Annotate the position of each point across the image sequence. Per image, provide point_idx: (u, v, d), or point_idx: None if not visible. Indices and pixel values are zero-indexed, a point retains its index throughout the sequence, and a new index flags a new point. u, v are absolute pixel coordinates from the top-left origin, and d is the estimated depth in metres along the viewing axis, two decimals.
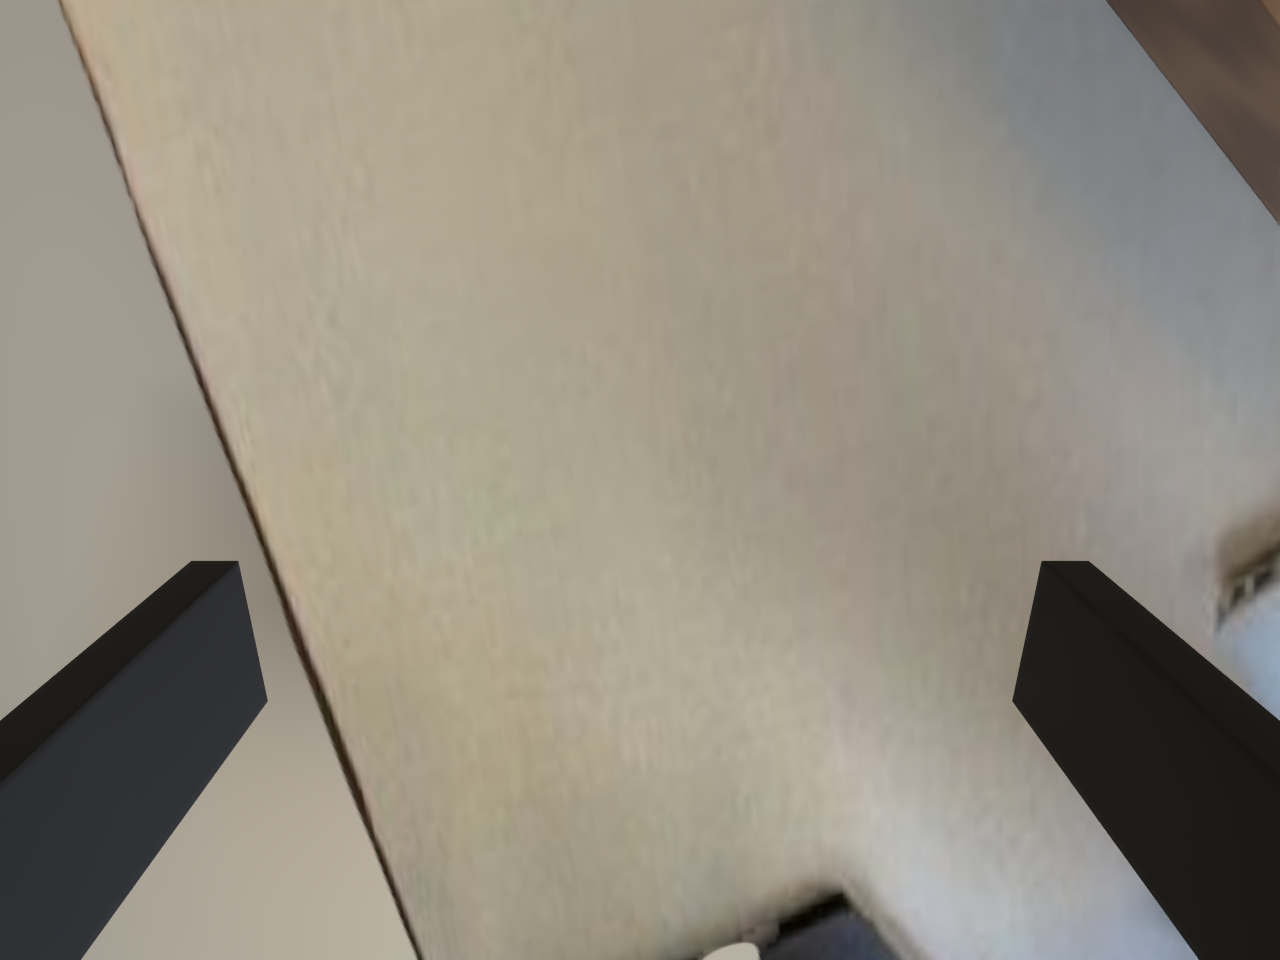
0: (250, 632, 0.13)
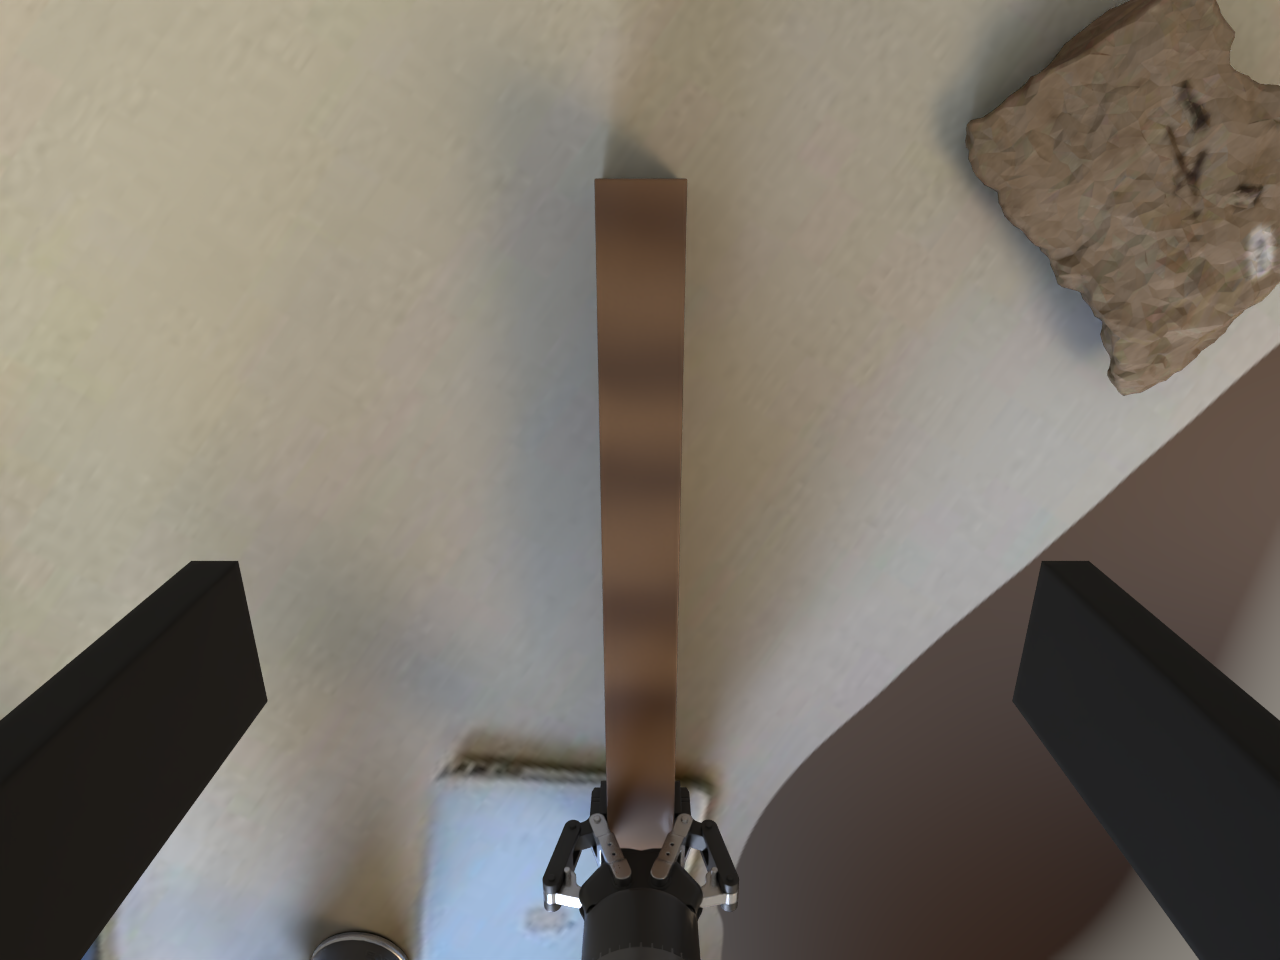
0: (249, 632, 0.13)
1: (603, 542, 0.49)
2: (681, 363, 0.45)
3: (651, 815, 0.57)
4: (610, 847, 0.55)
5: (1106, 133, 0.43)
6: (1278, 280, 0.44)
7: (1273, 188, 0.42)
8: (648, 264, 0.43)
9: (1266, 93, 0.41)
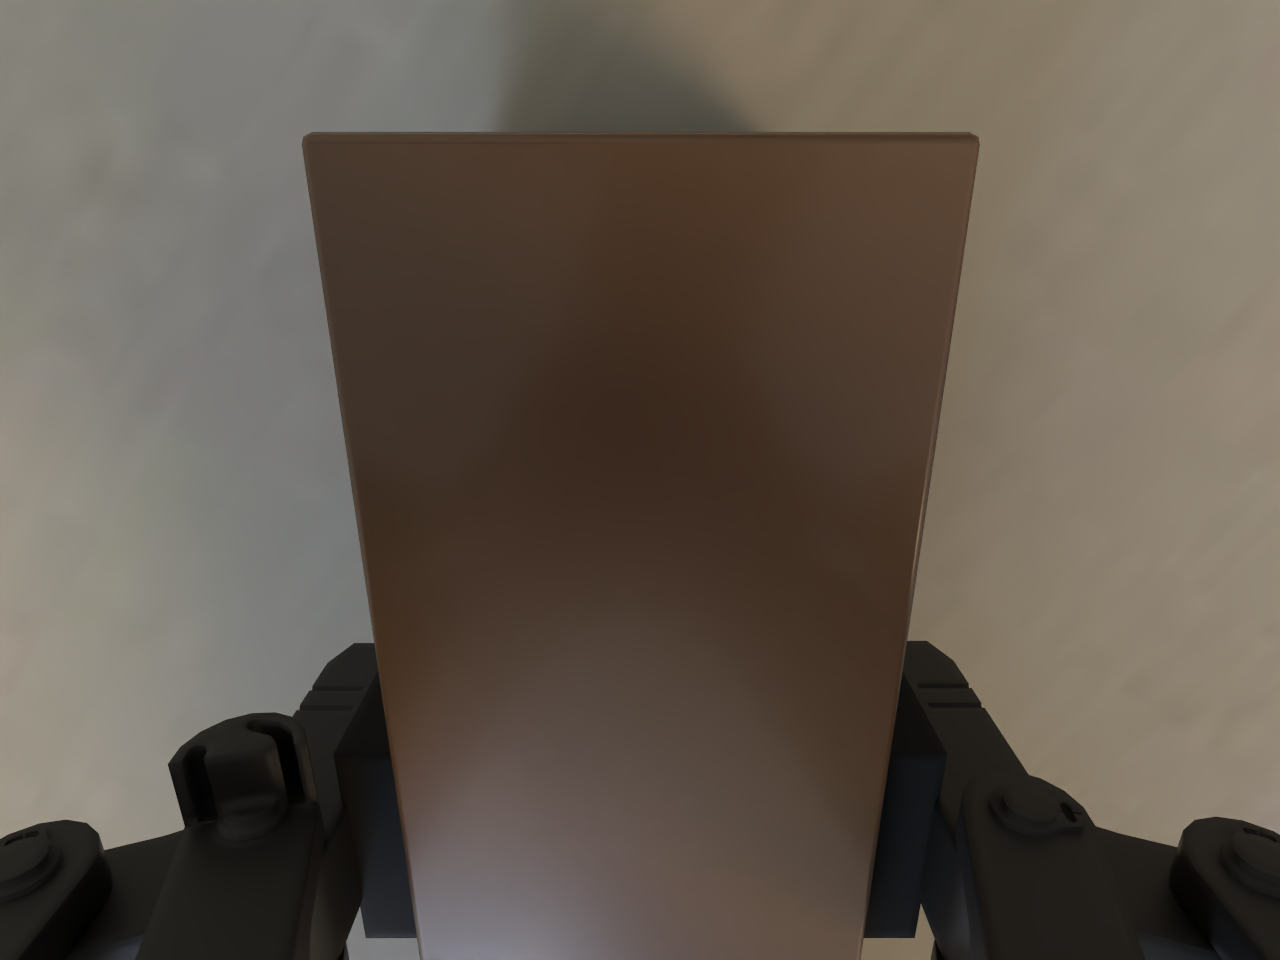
0: None
1: None
2: None
3: None
4: None
5: None
6: None
7: None
8: (682, 657, 0.07)
9: None
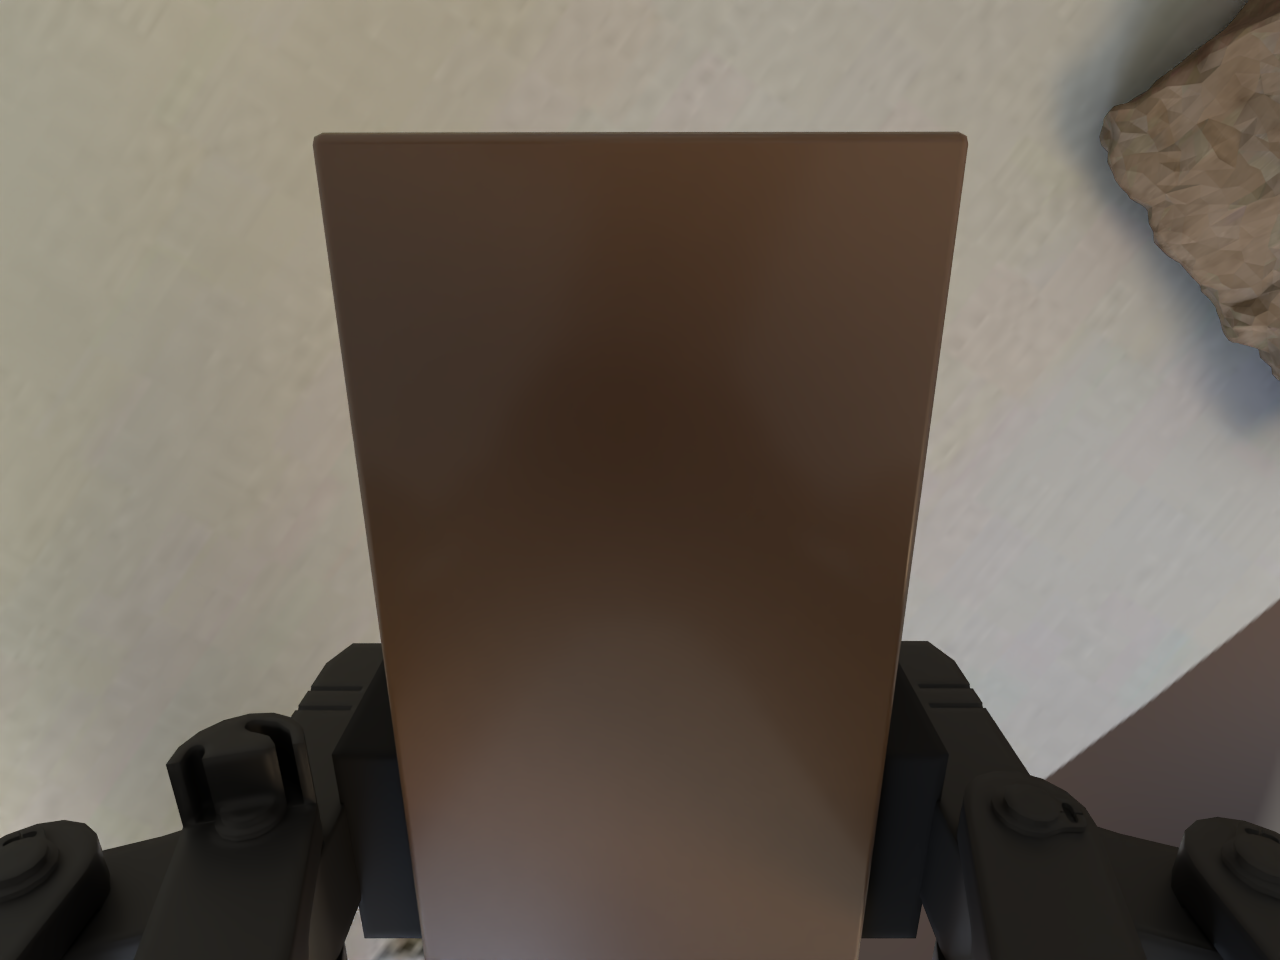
0: None
1: None
2: None
3: None
4: None
5: None
6: None
7: None
8: (684, 646, 0.07)
9: None
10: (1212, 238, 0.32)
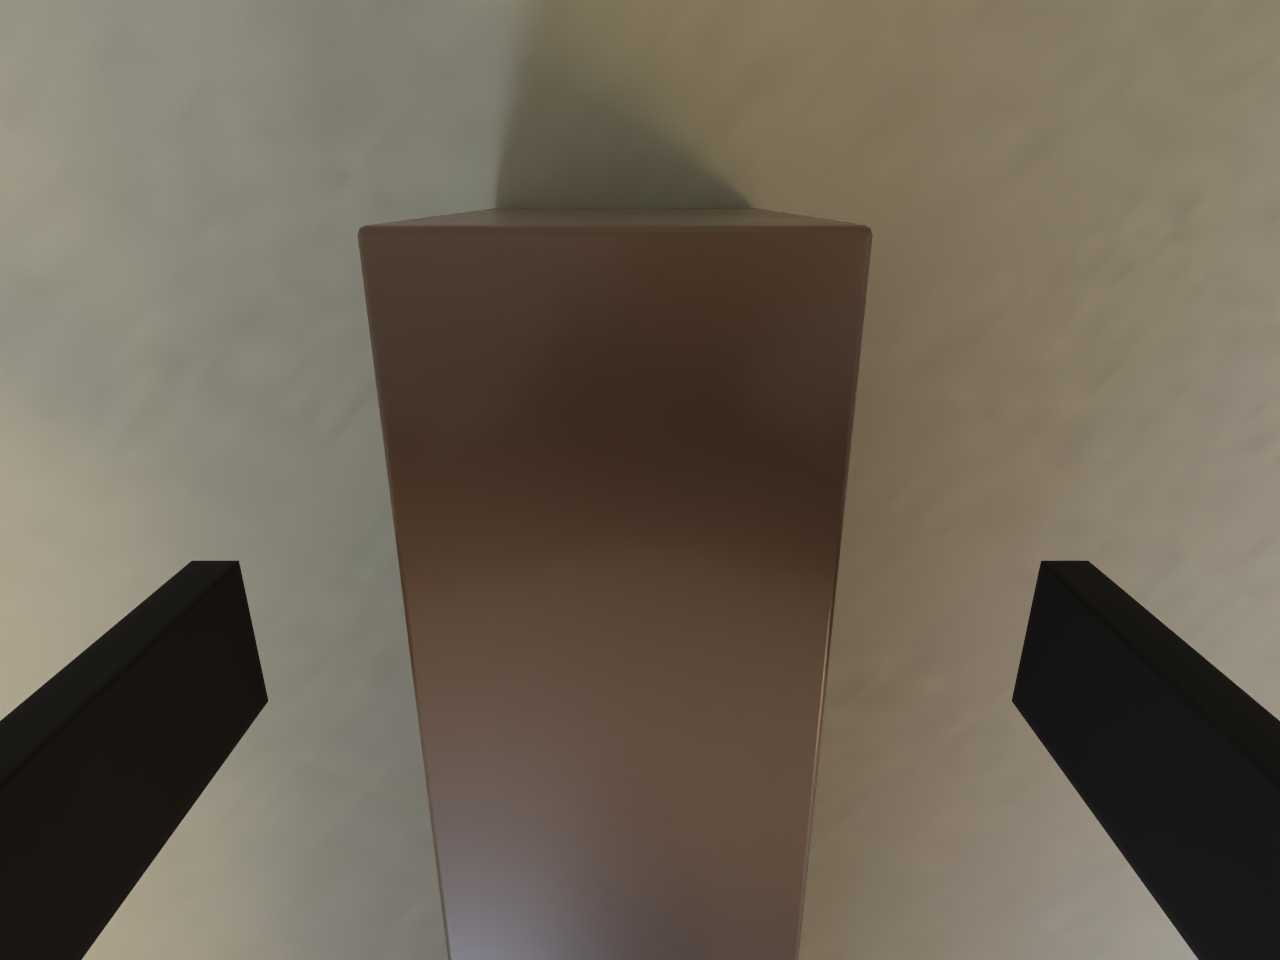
0: (250, 632, 0.13)
1: None
2: None
3: None
4: None
5: None
6: None
7: None
8: (654, 630, 0.09)
9: None
10: None
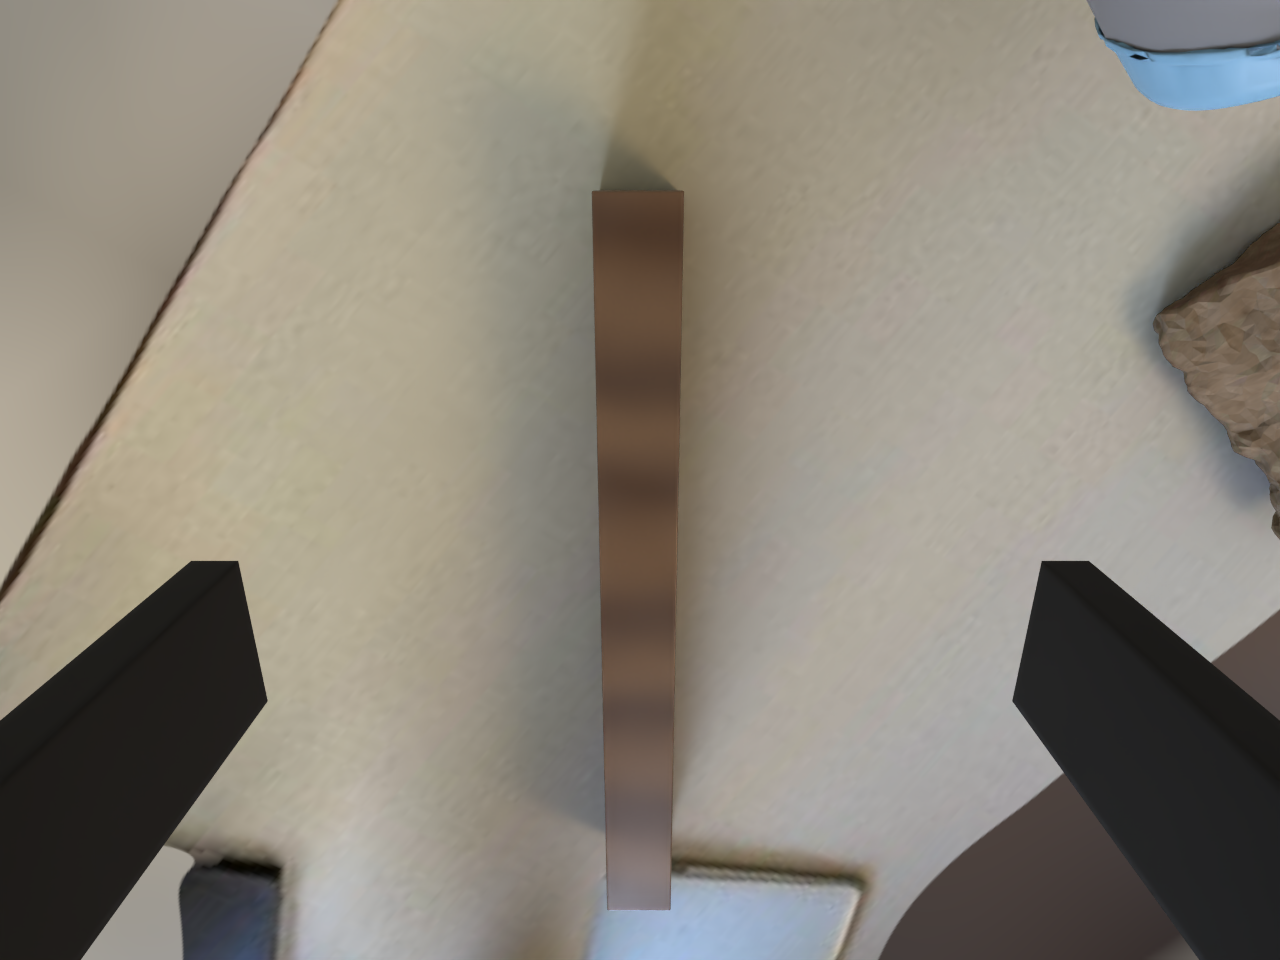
0: (249, 632, 0.13)
1: (601, 551, 0.49)
2: (678, 373, 0.45)
3: (649, 822, 0.57)
4: None
5: None
6: None
7: None
8: (645, 276, 0.43)
9: None
10: (1225, 392, 0.50)
